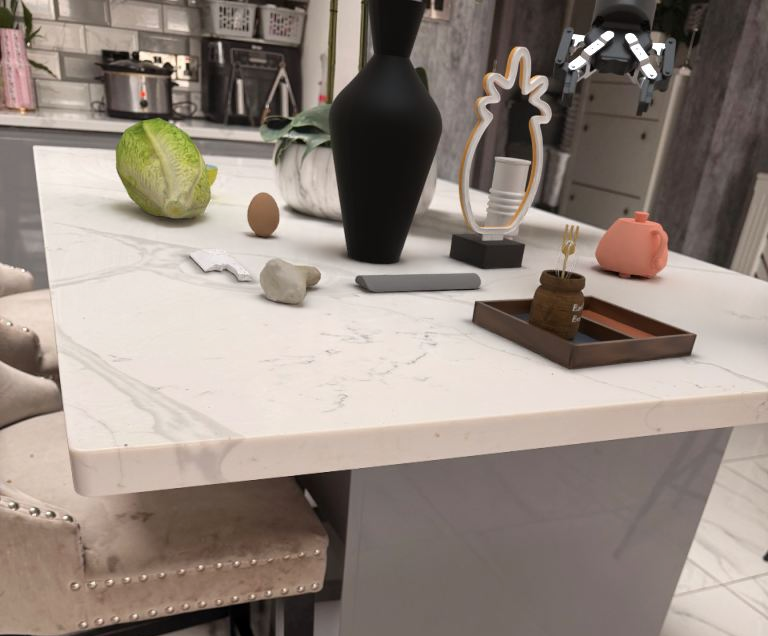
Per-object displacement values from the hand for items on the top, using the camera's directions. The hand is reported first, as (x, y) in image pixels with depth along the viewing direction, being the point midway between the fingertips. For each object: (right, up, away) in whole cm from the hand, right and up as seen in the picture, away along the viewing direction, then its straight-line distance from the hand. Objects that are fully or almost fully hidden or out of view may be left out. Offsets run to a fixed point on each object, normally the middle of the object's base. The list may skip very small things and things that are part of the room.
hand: (604, 106), depth 93 cm
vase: (-29, -8, +31) cm, 43 cm away
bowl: (-68, +17, +67) cm, 97 cm away
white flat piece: (-50, -16, +13) cm, 54 cm away
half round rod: (-22, -18, +16) cm, 32 cm away
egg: (-48, -3, +37) cm, 61 cm away
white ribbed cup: (-4, +3, +56) cm, 56 cm away
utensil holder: (-7, -28, -2) cm, 29 cm away
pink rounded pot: (+16, -8, +42) cm, 46 cm away
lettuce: (-66, +4, +45) cm, 80 cm away
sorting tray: (-3, -28, +1) cm, 28 cm away
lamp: (-10, -7, +38) cm, 40 cm away
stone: (-38, -22, +5) cm, 44 cm away
